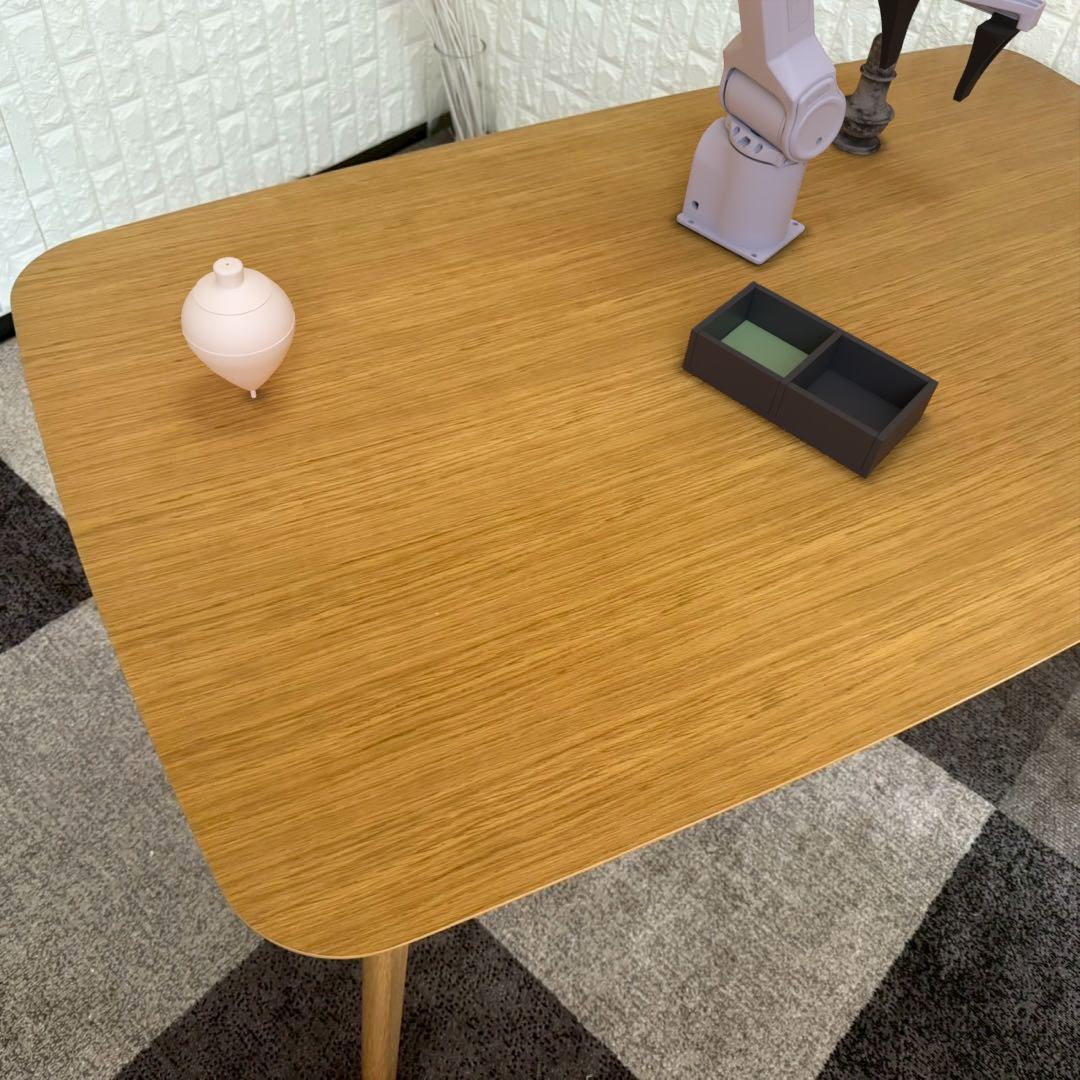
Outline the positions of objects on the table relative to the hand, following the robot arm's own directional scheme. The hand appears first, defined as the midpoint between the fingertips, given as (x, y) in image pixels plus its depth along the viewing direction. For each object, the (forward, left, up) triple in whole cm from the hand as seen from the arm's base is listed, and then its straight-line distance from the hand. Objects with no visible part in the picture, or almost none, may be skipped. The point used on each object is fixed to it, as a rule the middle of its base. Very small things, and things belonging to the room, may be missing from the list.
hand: (923, 81), depth 93 cm
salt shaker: (-6, +5, -11) cm, 13 cm away
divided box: (+10, -33, -10) cm, 36 cm away
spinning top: (-19, -63, -11) cm, 67 cm away
